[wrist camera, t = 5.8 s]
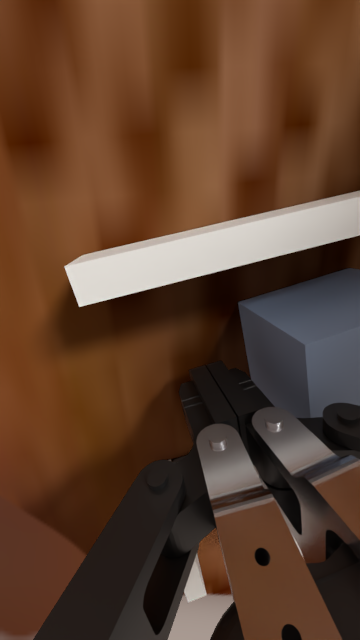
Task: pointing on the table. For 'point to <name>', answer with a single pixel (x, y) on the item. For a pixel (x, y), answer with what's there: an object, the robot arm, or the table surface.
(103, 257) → the white open shelf
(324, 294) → the block
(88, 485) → the table surface
